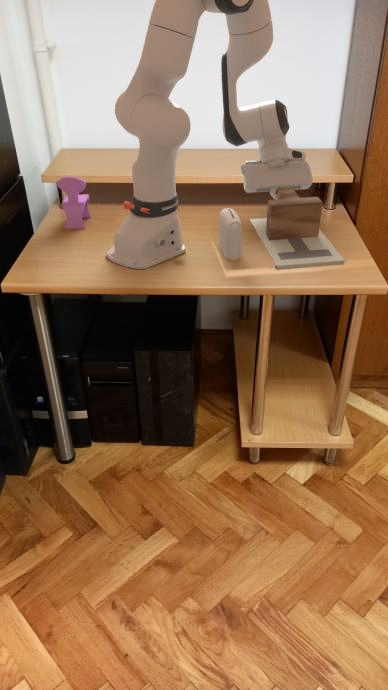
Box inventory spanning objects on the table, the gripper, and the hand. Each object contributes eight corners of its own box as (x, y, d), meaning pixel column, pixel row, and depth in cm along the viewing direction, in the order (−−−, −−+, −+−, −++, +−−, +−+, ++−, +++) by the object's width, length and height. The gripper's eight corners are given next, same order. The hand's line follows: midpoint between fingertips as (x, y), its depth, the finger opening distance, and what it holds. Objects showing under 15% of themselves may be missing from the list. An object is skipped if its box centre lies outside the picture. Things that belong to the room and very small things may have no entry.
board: (249, 223, 171) (249, 219, 171) (308, 218, 173) (308, 215, 173) (276, 270, 147) (276, 265, 146) (343, 264, 149) (344, 260, 149)
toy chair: (95, 217, 176) (89, 168, 168) (88, 228, 169) (82, 178, 160) (68, 216, 177) (61, 167, 168) (61, 228, 170) (53, 178, 161)
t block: (258, 222, 168) (260, 189, 163) (305, 219, 170) (308, 186, 164) (269, 240, 159) (271, 205, 153) (318, 236, 160) (322, 202, 155)
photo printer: (217, 247, 158) (218, 204, 151) (232, 246, 159) (234, 203, 152) (226, 264, 150) (227, 220, 143) (242, 263, 150) (244, 218, 143)
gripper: (242, 156, 166) (248, 201, 164) (310, 152, 169) (317, 196, 166) (238, 166, 172) (244, 210, 170) (304, 162, 175) (311, 205, 173)
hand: (281, 203), depth 168 cm, fingers closed
